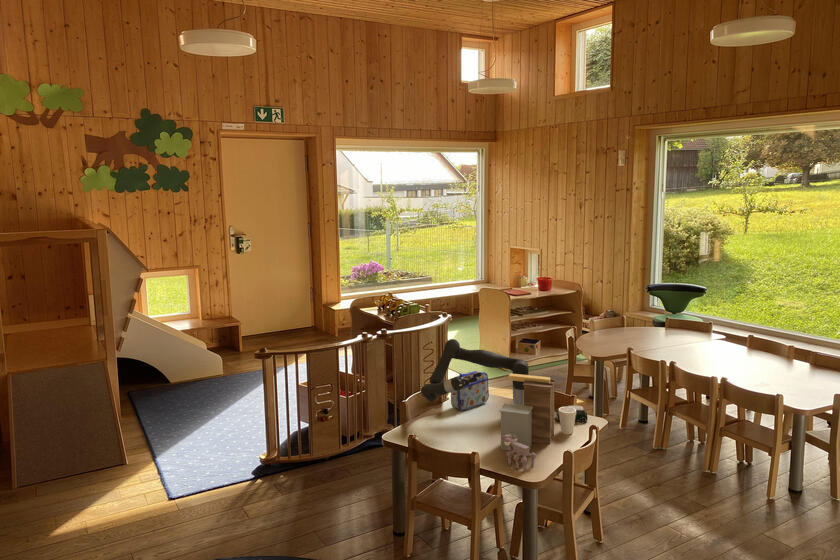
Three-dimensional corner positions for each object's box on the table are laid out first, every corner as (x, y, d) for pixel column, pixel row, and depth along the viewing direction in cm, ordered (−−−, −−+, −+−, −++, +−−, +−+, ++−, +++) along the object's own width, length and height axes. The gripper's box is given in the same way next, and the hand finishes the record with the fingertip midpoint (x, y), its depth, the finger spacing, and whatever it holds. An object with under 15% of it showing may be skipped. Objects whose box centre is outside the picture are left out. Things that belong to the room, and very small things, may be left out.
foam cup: (578, 431, 358) (579, 409, 356) (570, 436, 352) (570, 414, 349) (563, 427, 365) (563, 405, 362) (555, 432, 358) (555, 410, 355)
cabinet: (528, 431, 360) (528, 375, 354) (555, 435, 354) (555, 377, 348) (522, 440, 348) (522, 382, 342) (550, 444, 342) (551, 385, 336)
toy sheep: (493, 459, 327) (493, 434, 325) (507, 454, 334) (508, 429, 332) (523, 473, 312) (524, 446, 310) (537, 467, 318) (538, 441, 317)
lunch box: (459, 414, 387) (458, 379, 383) (447, 409, 395) (446, 375, 391) (490, 402, 405) (490, 369, 401) (479, 398, 412) (478, 365, 408)
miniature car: (555, 416, 381) (555, 403, 379) (586, 417, 378) (587, 404, 377) (556, 422, 372) (556, 409, 370) (588, 423, 369) (588, 410, 368)
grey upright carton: (505, 440, 348) (505, 403, 345) (532, 444, 343) (532, 406, 339) (499, 449, 338) (499, 410, 335) (528, 453, 333) (528, 414, 329)
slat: (510, 377, 353) (510, 373, 353) (550, 381, 345) (550, 377, 345) (508, 380, 350) (508, 375, 349) (549, 384, 341) (549, 379, 341)
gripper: (446, 382, 356) (472, 373, 350) (455, 374, 370) (479, 366, 363) (452, 395, 357) (477, 386, 350) (460, 386, 370) (485, 378, 363)
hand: (478, 376), depth 356 cm, fingers open, 8 cm apart
